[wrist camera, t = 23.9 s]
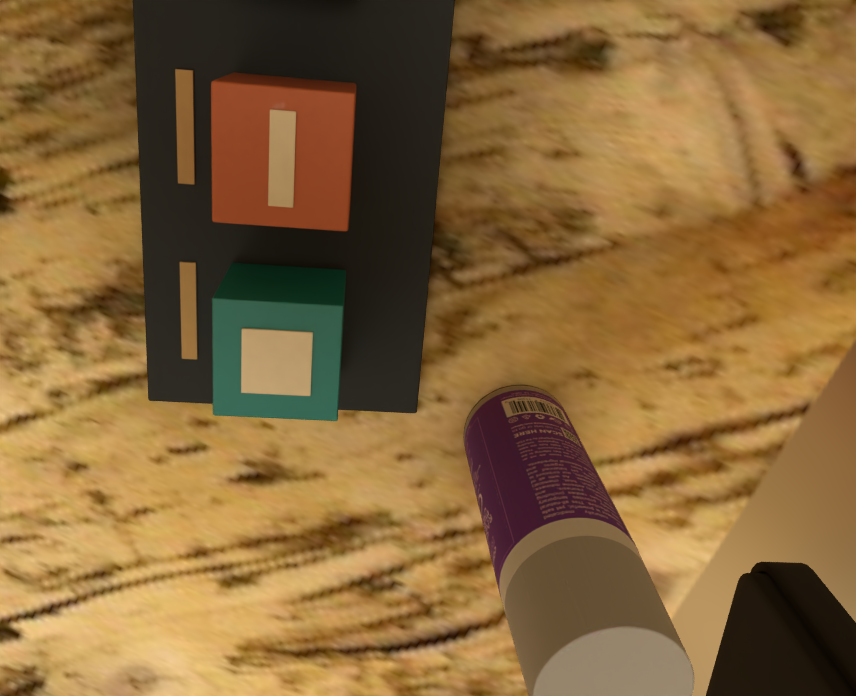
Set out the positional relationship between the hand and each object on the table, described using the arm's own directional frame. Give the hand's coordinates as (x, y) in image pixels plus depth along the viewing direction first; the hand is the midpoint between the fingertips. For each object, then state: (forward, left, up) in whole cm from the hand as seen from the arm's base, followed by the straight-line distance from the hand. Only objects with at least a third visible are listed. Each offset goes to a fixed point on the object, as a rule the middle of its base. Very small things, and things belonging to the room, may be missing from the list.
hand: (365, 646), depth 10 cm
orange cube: (-3, -3, -23) cm, 23 cm away
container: (+9, +7, -24) cm, 26 cm away
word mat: (-3, -3, -24) cm, 24 cm away
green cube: (+4, -3, -23) cm, 23 cm away
